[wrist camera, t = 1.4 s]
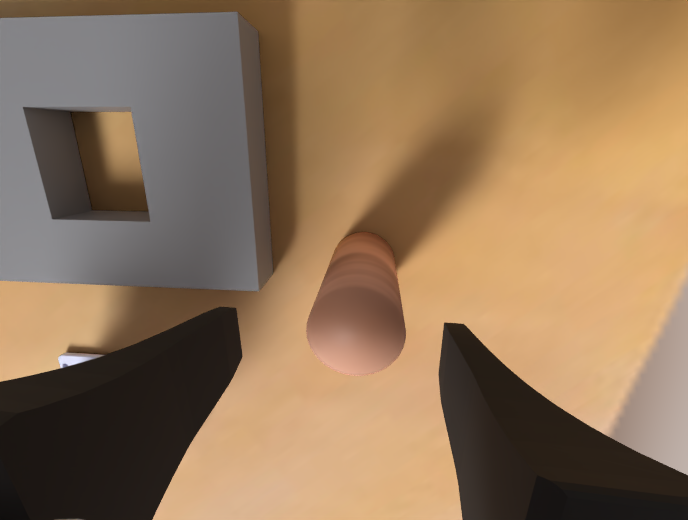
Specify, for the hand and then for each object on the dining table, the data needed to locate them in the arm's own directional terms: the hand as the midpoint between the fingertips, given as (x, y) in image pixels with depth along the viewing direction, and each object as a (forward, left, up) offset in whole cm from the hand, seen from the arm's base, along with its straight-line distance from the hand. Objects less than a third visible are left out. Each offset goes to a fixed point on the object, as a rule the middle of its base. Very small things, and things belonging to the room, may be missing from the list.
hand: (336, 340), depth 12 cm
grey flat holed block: (+5, +14, -11) cm, 19 cm away
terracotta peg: (-1, -1, -11) cm, 11 cm away
